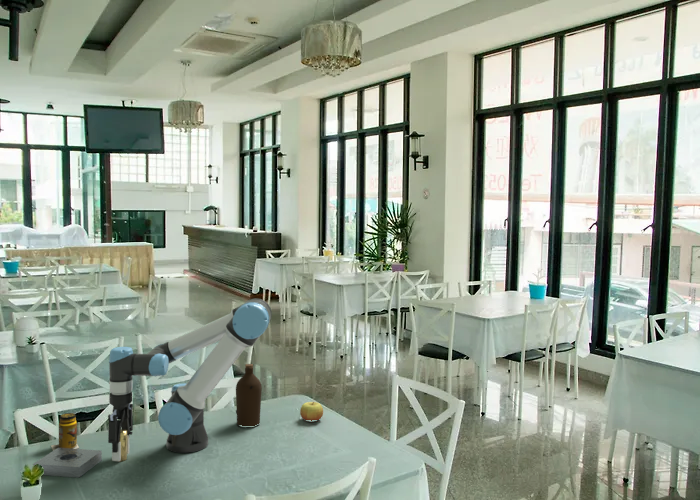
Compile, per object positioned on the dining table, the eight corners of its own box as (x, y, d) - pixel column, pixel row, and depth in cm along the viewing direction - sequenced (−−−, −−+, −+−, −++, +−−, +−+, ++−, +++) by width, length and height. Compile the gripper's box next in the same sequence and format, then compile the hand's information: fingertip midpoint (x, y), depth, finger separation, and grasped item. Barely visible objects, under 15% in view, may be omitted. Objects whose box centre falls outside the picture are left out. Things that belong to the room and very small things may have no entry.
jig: (101, 460, 210) (101, 450, 209) (79, 477, 196) (79, 467, 195) (58, 457, 211) (58, 447, 211) (33, 474, 197) (33, 463, 197)
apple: (327, 418, 258) (327, 400, 257) (316, 425, 249) (317, 406, 248) (306, 415, 262) (307, 397, 261) (295, 422, 253) (296, 403, 252)
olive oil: (266, 423, 250) (267, 364, 248) (247, 430, 241) (248, 369, 240) (249, 418, 256) (250, 360, 255) (229, 424, 248) (230, 364, 247)
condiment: (79, 448, 220) (79, 416, 219) (53, 453, 215) (53, 420, 214) (75, 441, 226) (75, 410, 225) (50, 446, 221) (50, 414, 220)
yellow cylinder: (128, 457, 213) (129, 429, 212) (123, 461, 209) (123, 433, 208) (118, 456, 213) (118, 428, 212) (112, 461, 209) (112, 432, 209)
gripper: (123, 383, 219) (123, 446, 220) (96, 399, 201) (96, 467, 202) (143, 385, 218) (143, 447, 220) (118, 400, 200) (117, 468, 201)
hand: (120, 456), depth 211 cm, fingers open, 6 cm apart
